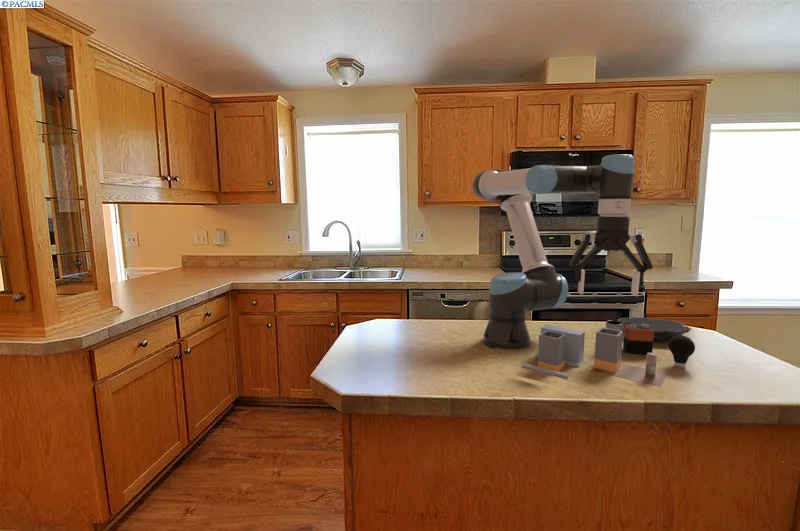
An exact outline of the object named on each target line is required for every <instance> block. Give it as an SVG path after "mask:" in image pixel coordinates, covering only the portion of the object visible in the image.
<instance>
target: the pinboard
mask: <svg viewBox="0 0 800 531" xmlns="http://www.w3.org/2000/svg"><path fill="white" fill-rule="evenodd" d="M657 361H658V354H657V353H653V352H652V353H647V355H646V361H645V368H644V367H639V366H633V365H631V364H630V365H629V364H626V363H621V367H620V368H619V369H618V371H617V372H616V373H615V372H611V371H607V370H602V369H598V368H594V366H593V367H592V368H591V369H590V371H593V372H596V373H601V374H605V375H608V376H609V375H610V376H614V377H618V378H622V379H625V380H626V379H627V380H631V381H634V382H640V383H644V384H648V385H652V386H656V387H659V388H661V387H662V385H663V384H664V381H665V379H666V376H667V375H668V373H667V372H663V371H657Z"/></svg>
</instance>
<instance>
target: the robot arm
mask: <svg viewBox="0 0 800 531" xmlns="http://www.w3.org/2000/svg"><path fill="white" fill-rule="evenodd" d="M635 173H636V172H635V157H634V156H633V155H632V154H626V153H625V154H622V153H621V154H610V155H609V154H608V155H605V156H603V157H602V158H601V163H600V164H599V165H549V164H540V165H539V164H538V165H534V166H532V167H529V168H521V169H516V168H514V169H493V168H492V169H491V168H490V169H485V170H482V171H480V172H478V173H476V175H475V176H474V178H473V180H472V183H471V184H472V185H471V186H472V190H473V193H474V194H475V196H476V197H477V198H479V199H480V200H483V201H486V202H499V205H500V209H501V210H502V211H504V212H506V216H507V218H508V222H509V225H510V229H511V232H512V236H513V239H514V243H515V247H516V250H517V254H518V258H519V261H520V264H521V267H522V270H521V272H516V271H514V272H503V273H498V274H496V275H494V276H493V277H491V279H490V282H489V289H488V292H489V304H488V305H489V310H488V322H487V325H486V328H485V331H484V334H483V343H484V344H485V345H486V346H487V347H490V348H493V349H502V350H520V349H526V348H528V347H529V346H530V345H531V337H530V334H529V330H528V328H527V327H528V326H527V323H526V312H529V311H542V310H551V309H556V308H559V307H561V306H562V305H564V304H565V302H566V300H567V297H568V295H569V285H568V281H567V279H566V278H565V277H564V276H563V275H562V274H560V273H557V272H556V268H555V266H554V265H552V264H550V263H549V262H548V259H547V256H546V253H545V249H544V247H543V243H542V240H541V237H540V233H539V231H538V227H537V224H536V221H535V217H534V215H533V212H532V208H531V203H532V200H533V197H534V195H536V194H537V195H543V194H544V195H549V194H575V195H584V194H585V195H586V194H597V193H598V195H599V196H598V204H597V207H598V208H597V214H598V215H599V216H598V217H597V219H596V221H597V222H596V232H595V234H590V233H585V232H584V233H583V235H582V239H581V242H580V244H579V246H578V248H577V249H576V250H575V252H574V254H573V256H572V257H571V259H570V261H569V262H568V266H569V267H570V268H571V269H572V268H573V269H574V279H575V282H578V284H577V285H578V286H577V293H578V294H579V295H584V290H585V289H584V288H585V278H586V277H585V275H586V271H585V269H584V268H585V267H586V266H587V265H588V264H589V263H591V261H592V260H593V259H594V258H595V257H596V256H597V255H598V254H599V253H600V252H601V251H606V252H609V251H614V252H619V251H621V252H622V254H624V256H625V257H626V258H627V259H628V261H629V262H630V263H631V264H632V266H633V267H634V268H635V269H632V280H631V288H630V295H632V296H634V297H639V291H640V288H639V287H640V284H642V283H643V282H644V276H645V275H644V273H646V272H647V270H652V269H654V266H653V264H652V262H651V260H650V258H649V255H648V253H647V251H646V249H645V246H644V244H643V236H642V235H641V234H640V233H634V234H629V232H630V231H629V229H630V220H631V218H630V217H629V216H628V215H630V214H631V207H632V206H631V205H632V196H633V195H632V194H633V193H632V192H633V184H634V175H635ZM593 240H594V241H595V242H596V244H595V245H594V246H593V247H592V248H591V249H590V251H589V252H587V253H586V254H585V255H584V256H583V254H584V253H585V251H586V250H587V248H588V246H589V244H590V243H592V242H593ZM629 241H630V242H632V243H633V245H634V248H635V250H636V252H637V253H638V254H637V255H638V257H639V259H640V260H641V261H639V260H638V258H637V257H636V256H635V254H634V253H633V252H632V250H630V248H629V247H628V245H627V244H628V242H629ZM581 258H582V259H581ZM579 260H580V261H579Z"/></svg>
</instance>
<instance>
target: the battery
mask: <svg viewBox="0 0 800 531" xmlns="http://www.w3.org/2000/svg"><path fill="white" fill-rule="evenodd" d="M649 326H650V325H648V324H641V326H636V325H635V324H630V325H625V327H624V328H623V340H622V351H624V352H625V353H626V354H627V355H645V356H647V353H653V350H654V341H653V338H654V330H653V329H651V328H650V327H649Z"/></svg>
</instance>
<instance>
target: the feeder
mask: <svg viewBox="0 0 800 531" xmlns="http://www.w3.org/2000/svg"><path fill="white" fill-rule="evenodd" d="M546 330H547V331H553V332H558V333H563V334H566V348H565V365H568V366H572V367H576V368H580V365H581V363H583V362H584V354H585V353H584V352H585V338H586V337H585V334H586V331H583V330H578V329H571V328H568V327H560V326H555V325H550V324H545V325H543V326H542V327H541V328H540V334H542V333H543V332H545V331H546ZM535 358H538V353H536V355H535ZM522 367H524V368H526V369H530V370H534V371H537V372H542V373H545V374H550V375H554V376H556V377H557V376H558V377H561V378H565V379H569V378H570V374H568V373H565V372H560V371H559V372H557V371H553V370H549V369H545V368H541V367H538V365H537V366H536V365H532V364H528V363H525V362H524V363H522Z"/></svg>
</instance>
